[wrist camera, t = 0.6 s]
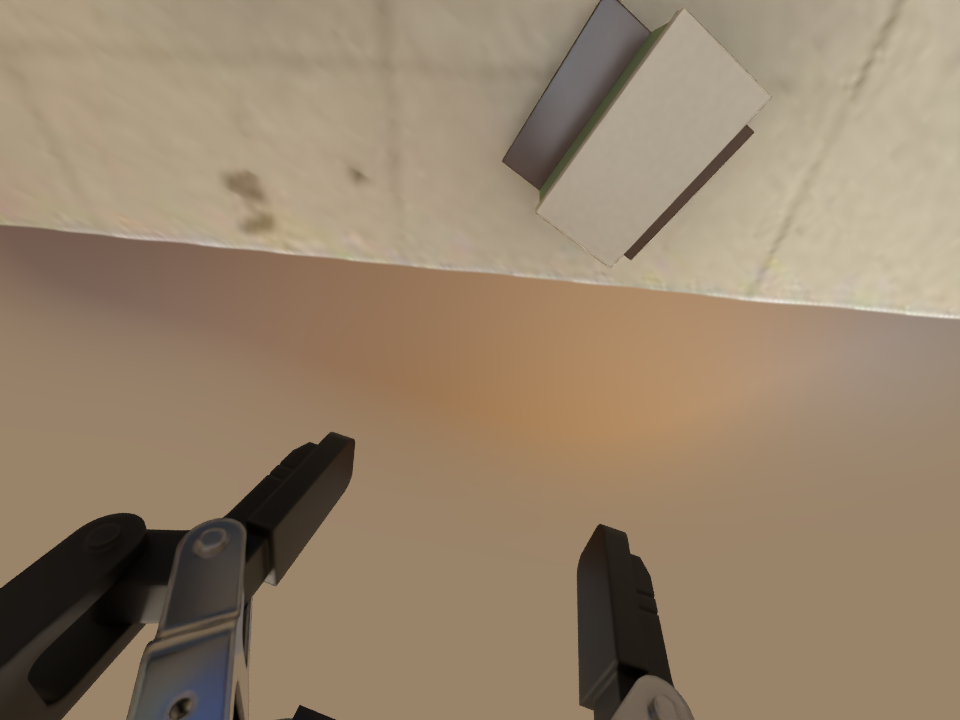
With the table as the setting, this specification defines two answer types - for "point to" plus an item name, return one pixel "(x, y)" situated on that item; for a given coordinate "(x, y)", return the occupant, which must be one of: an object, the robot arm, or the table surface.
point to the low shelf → (593, 105)
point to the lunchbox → (649, 138)
